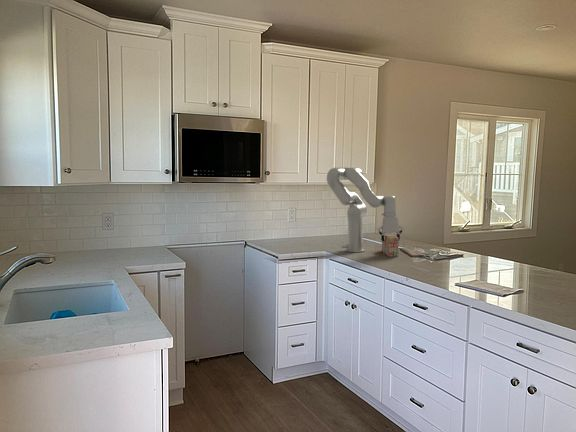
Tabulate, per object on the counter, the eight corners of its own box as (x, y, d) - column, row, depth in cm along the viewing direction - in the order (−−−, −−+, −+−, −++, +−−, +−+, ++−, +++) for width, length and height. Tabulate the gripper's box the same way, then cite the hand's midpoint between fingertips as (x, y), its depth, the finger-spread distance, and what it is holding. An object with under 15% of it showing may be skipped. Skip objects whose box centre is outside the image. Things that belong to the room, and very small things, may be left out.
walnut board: (412, 257, 290) (412, 255, 290) (400, 249, 317) (400, 247, 317) (431, 256, 291) (431, 254, 291) (417, 249, 317) (417, 247, 317)
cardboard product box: (381, 250, 315) (381, 232, 313) (390, 250, 315) (390, 232, 313) (388, 256, 293) (388, 237, 292) (398, 256, 293) (398, 237, 292)
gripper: (378, 216, 296) (378, 242, 298) (404, 214, 297) (405, 241, 299) (375, 215, 304) (376, 240, 305) (401, 213, 305) (402, 239, 306)
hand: (390, 241), depth 302 cm, fingers open, 9 cm apart
